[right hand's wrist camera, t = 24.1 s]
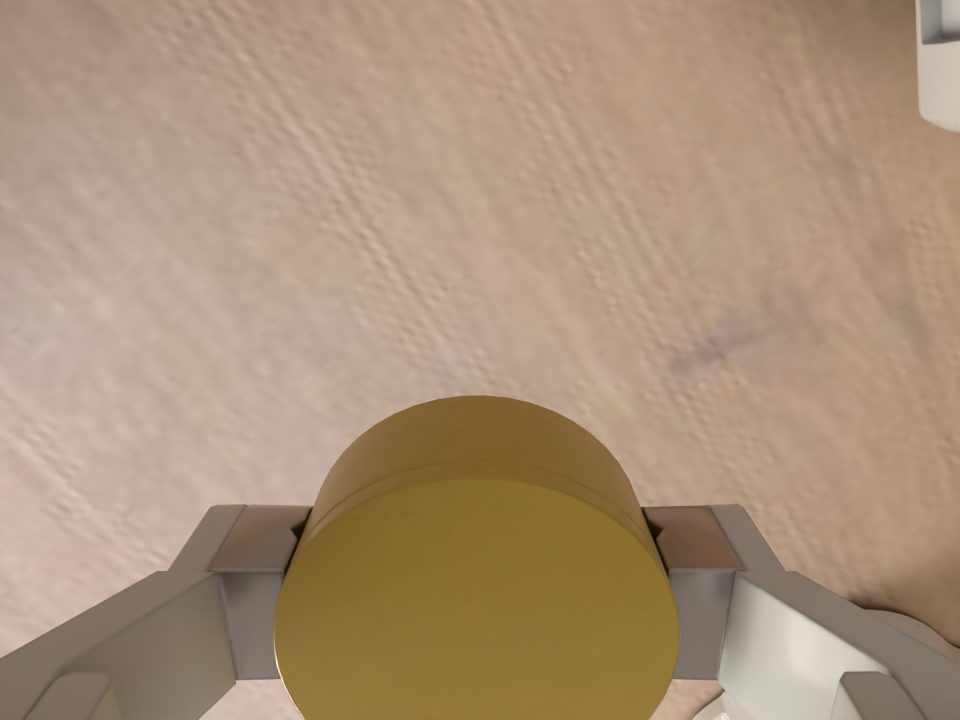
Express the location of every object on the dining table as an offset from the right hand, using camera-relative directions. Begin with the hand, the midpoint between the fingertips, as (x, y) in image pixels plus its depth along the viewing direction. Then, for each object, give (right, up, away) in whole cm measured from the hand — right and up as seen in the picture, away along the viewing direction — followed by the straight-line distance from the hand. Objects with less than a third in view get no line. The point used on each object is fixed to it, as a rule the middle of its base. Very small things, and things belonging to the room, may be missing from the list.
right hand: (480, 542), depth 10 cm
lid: (0, -1, -2) cm, 2 cm away
